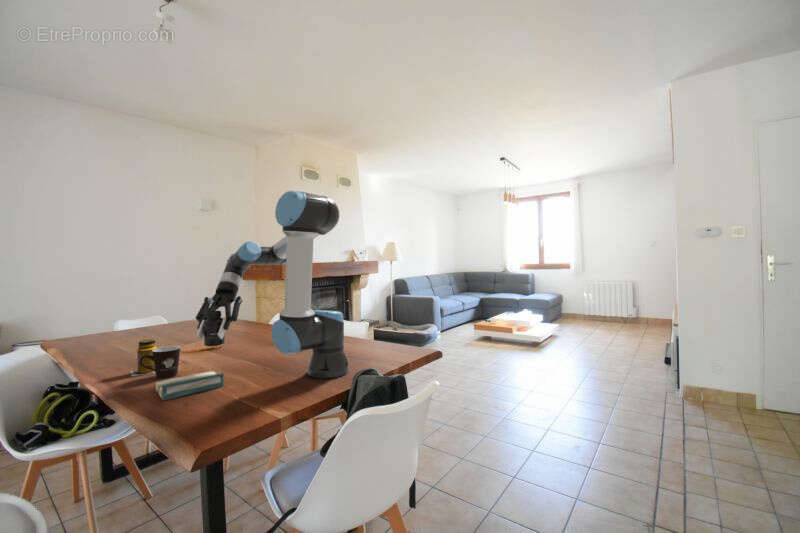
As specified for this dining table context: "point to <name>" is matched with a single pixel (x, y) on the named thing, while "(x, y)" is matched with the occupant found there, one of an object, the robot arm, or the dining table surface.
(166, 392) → the teal and cream book
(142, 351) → the condiment
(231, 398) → the dining table surface
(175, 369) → the coffee mug
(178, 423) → the dining table surface
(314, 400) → the dining table surface
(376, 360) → the dining table surface
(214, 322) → the supplement bottle
